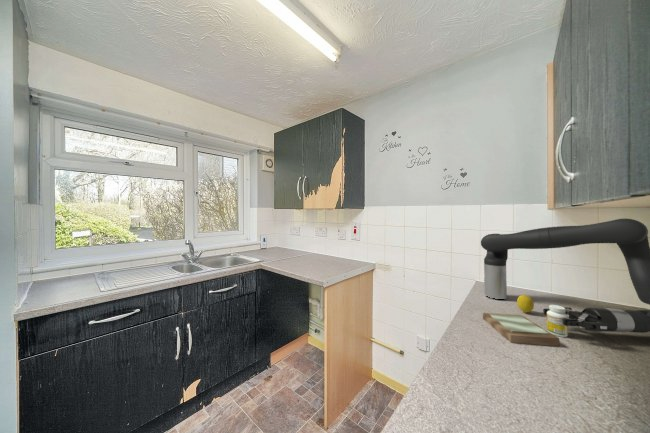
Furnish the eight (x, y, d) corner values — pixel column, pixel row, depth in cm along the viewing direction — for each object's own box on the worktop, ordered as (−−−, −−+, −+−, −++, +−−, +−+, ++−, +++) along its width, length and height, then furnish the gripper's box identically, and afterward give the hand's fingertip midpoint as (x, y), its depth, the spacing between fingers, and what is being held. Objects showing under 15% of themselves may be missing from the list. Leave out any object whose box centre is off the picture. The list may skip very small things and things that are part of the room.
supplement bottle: (559, 338, 78) (558, 310, 78) (542, 330, 83) (542, 304, 83) (573, 337, 78) (572, 309, 78) (555, 329, 84) (555, 303, 84)
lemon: (534, 316, 94) (534, 297, 94) (517, 313, 98) (517, 295, 98) (533, 312, 99) (532, 294, 99) (516, 309, 102) (516, 291, 102)
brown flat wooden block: (482, 318, 93) (482, 311, 93) (521, 321, 91) (521, 313, 91) (510, 342, 75) (510, 333, 75) (559, 346, 73) (559, 336, 73)
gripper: (587, 301, 85) (538, 299, 88) (631, 317, 71) (570, 314, 74) (587, 321, 85) (538, 318, 88) (631, 341, 71) (571, 337, 74)
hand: (553, 316), depth 81 cm, fingers open, 8 cm apart
